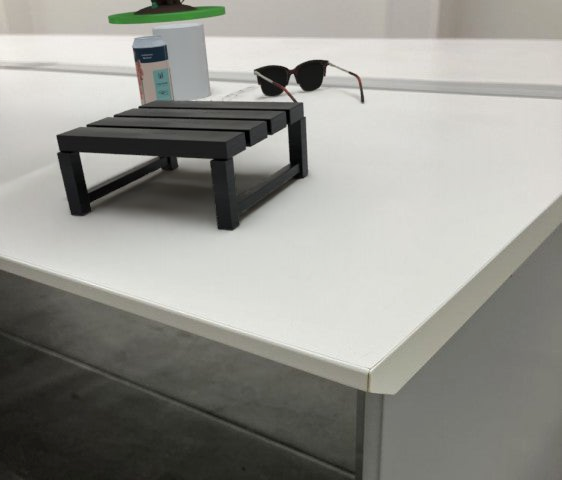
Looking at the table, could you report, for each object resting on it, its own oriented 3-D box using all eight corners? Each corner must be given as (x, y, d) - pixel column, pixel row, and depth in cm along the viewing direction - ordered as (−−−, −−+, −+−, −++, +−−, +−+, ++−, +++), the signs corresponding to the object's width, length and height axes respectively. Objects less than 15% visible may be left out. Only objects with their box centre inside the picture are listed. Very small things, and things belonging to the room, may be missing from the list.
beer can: (155, 124, 103) (141, 35, 97) (183, 124, 101) (171, 34, 95) (139, 131, 99) (124, 40, 93) (168, 131, 98) (155, 38, 91)
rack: (70, 215, 67) (52, 136, 63) (167, 166, 81) (157, 99, 77) (232, 230, 60) (223, 143, 56) (308, 174, 74) (305, 101, 70)
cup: (200, 99, 119) (191, 22, 113) (219, 105, 113) (211, 24, 107) (156, 106, 116) (145, 27, 110) (173, 112, 110) (162, 29, 103)
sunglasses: (327, 88, 120) (327, 57, 117) (372, 108, 108) (373, 74, 105) (254, 98, 116) (252, 67, 113) (292, 120, 104) (291, 85, 101)
